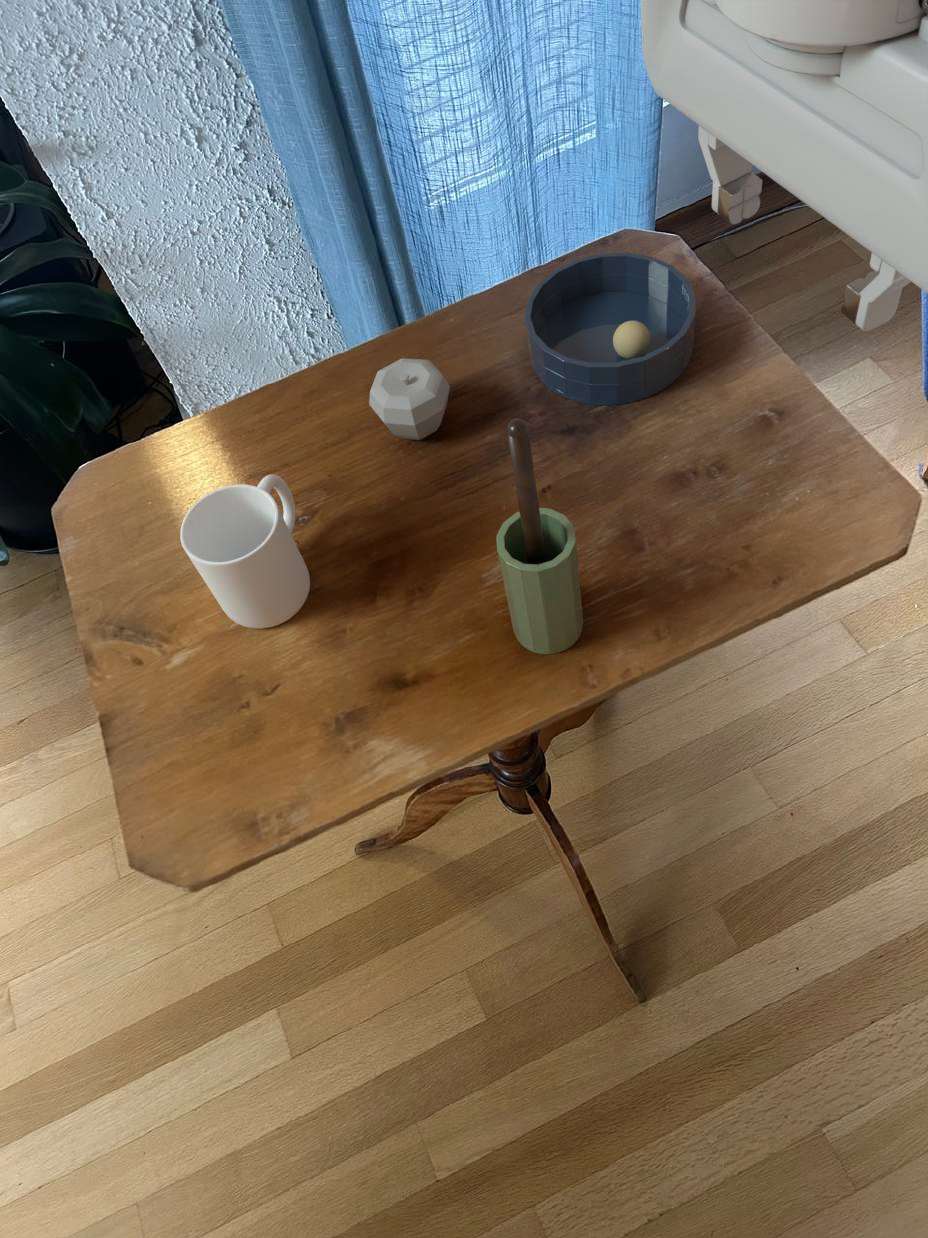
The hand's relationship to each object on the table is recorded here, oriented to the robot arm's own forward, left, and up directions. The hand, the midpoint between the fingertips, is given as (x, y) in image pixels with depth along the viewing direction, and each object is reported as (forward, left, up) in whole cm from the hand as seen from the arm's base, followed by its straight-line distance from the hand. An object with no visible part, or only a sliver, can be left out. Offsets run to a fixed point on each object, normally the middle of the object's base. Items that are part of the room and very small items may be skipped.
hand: (797, 262), depth 46 cm
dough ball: (-13, -34, -36) cm, 51 cm away
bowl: (-12, -37, -39) cm, 55 cm away
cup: (+28, -30, -39) cm, 56 cm away
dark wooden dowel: (+10, -12, -38) cm, 41 cm away
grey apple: (+9, -39, -39) cm, 56 cm away
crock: (+10, -12, -39) cm, 42 cm away
